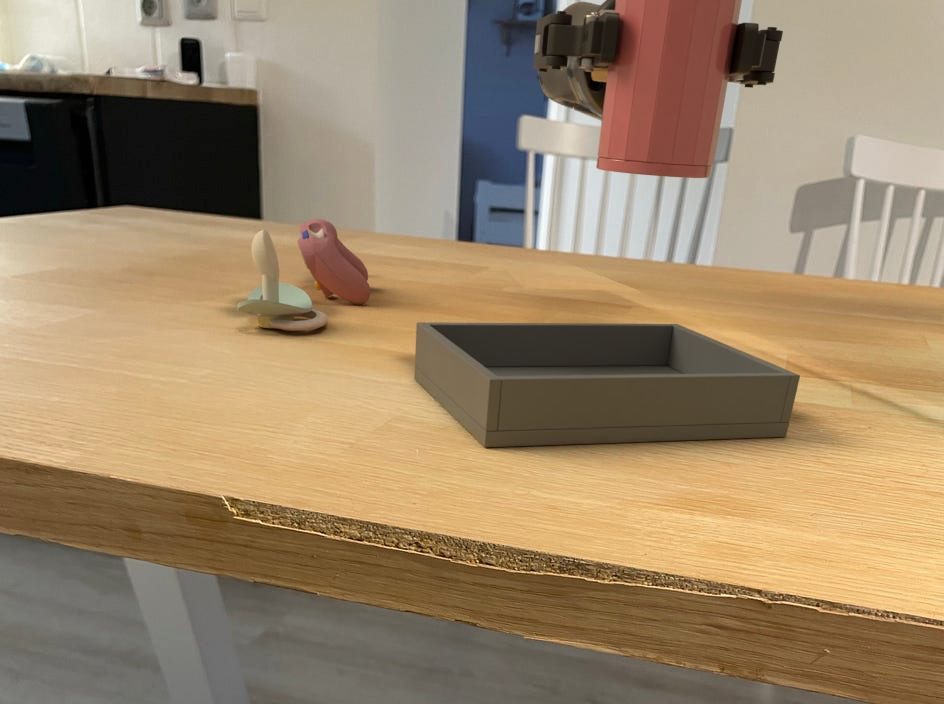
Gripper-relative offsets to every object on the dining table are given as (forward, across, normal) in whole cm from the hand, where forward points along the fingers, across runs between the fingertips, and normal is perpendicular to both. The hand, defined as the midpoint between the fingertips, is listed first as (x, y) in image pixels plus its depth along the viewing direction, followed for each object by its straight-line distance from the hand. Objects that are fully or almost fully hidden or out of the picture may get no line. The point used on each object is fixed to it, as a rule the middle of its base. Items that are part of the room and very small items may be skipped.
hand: (679, 42), depth 48 cm
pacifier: (-14, -23, +18) cm, 32 cm away
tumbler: (-2, 0, +6) cm, 6 cm away
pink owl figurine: (-28, -21, +18) cm, 39 cm away
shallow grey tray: (+3, -2, +18) cm, 18 cm away
